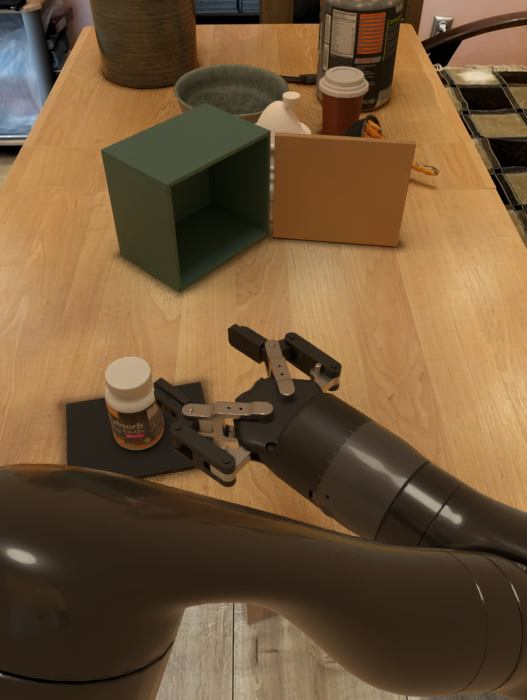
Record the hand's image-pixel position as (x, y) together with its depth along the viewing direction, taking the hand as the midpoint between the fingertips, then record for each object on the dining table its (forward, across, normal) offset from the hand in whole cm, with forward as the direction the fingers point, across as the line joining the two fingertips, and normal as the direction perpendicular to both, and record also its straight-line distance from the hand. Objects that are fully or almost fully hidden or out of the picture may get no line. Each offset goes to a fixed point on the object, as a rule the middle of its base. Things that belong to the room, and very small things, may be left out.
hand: (195, 359), depth 54 cm
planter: (+88, -70, +20) cm, 114 cm away
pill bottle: (+11, 0, +19) cm, 22 cm away
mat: (+11, 0, +20) cm, 23 cm away
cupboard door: (+19, -47, +20) cm, 54 cm away
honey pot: (+32, -48, +20) cm, 61 cm away
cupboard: (+32, -30, +20) cm, 48 cm away
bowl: (+52, -58, +20) cm, 81 cm away
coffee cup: (+37, -72, +20) cm, 84 cm away
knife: (+64, -84, +20) cm, 108 cm away
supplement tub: (+46, -88, +20) cm, 101 cm away
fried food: (+24, -68, +20) cm, 74 cm away
